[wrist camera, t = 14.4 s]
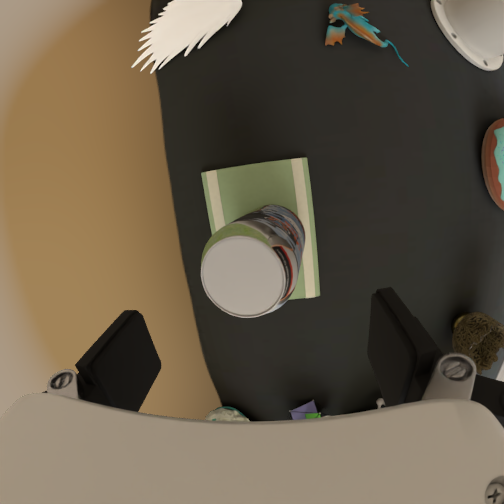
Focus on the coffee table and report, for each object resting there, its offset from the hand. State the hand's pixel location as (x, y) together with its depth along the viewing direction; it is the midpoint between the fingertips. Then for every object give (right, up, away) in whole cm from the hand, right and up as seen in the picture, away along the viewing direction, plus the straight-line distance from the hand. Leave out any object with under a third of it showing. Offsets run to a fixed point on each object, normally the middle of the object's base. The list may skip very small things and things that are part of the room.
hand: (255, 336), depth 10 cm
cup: (+28, -6, +18) cm, 34 cm away
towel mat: (+1, +5, +16) cm, 17 cm away
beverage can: (+1, +5, +16) cm, 17 cm away
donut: (+32, +14, +11) cm, 37 cm away
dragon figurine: (+11, +25, +9) cm, 29 cm away
